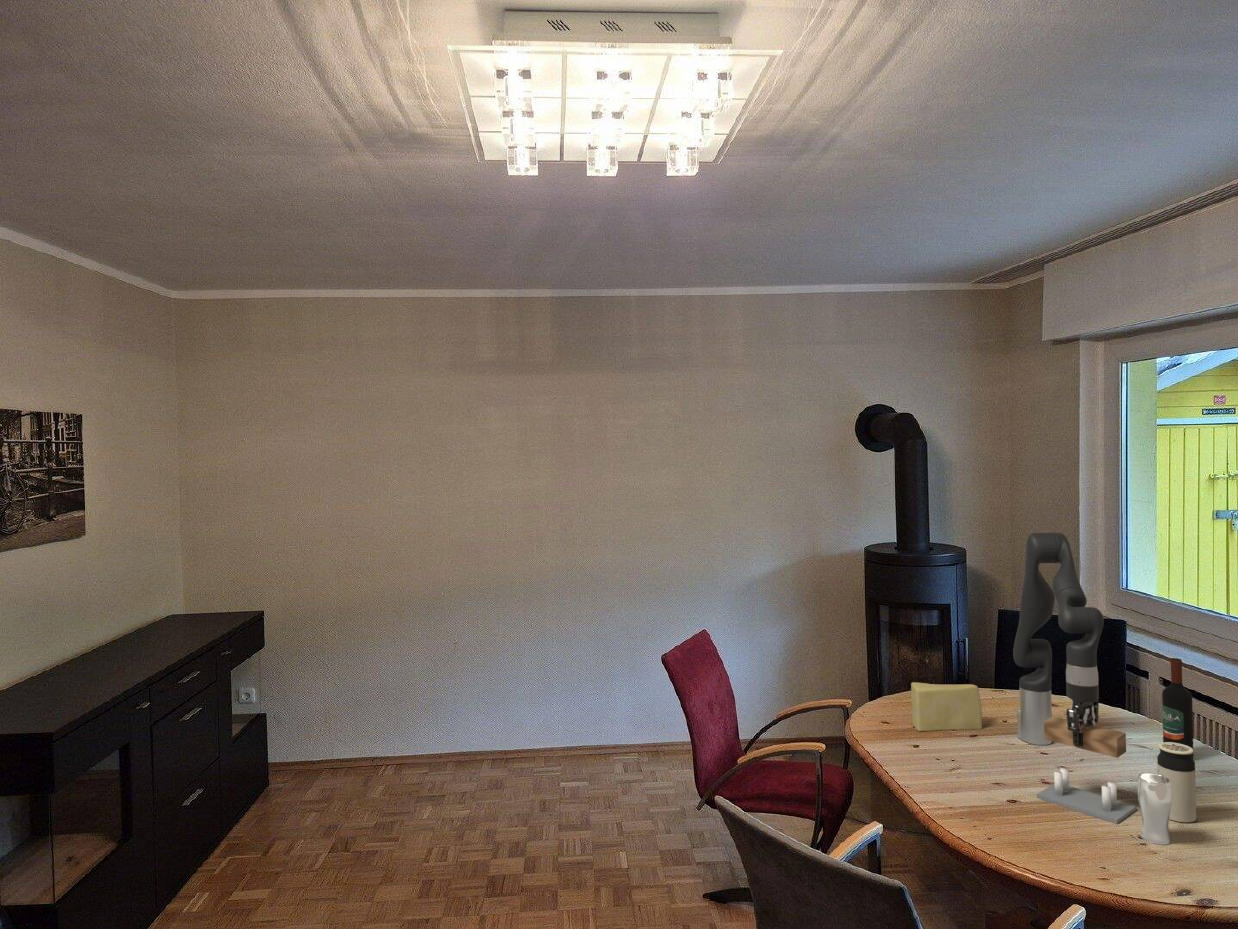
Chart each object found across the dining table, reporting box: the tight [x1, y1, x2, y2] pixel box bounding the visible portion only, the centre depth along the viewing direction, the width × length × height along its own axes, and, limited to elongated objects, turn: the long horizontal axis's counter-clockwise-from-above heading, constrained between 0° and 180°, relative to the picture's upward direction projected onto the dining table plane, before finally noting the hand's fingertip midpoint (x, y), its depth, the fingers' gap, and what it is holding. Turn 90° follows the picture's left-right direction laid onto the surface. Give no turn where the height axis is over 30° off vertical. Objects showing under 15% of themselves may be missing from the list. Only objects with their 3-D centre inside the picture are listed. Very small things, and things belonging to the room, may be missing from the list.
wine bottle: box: [1161, 657, 1195, 758], centre depth 239 cm, size 8×8×30 cm
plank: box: [1044, 715, 1127, 759], centre depth 210 cm, size 18×6×5 cm, turn 38°
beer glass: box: [1137, 772, 1172, 846], centre depth 191 cm, size 7×7×15 cm
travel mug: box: [1156, 741, 1197, 823], centre depth 202 cm, size 8×8×18 cm
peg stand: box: [1036, 767, 1137, 825], centre depth 211 cm, size 20×12×7 cm, turn 36°
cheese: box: [910, 682, 983, 732], centre depth 270 cm, size 22×10×15 cm, turn 81°
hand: (1083, 742), depth 211 cm, fingers closed on plank, 6 cm apart
